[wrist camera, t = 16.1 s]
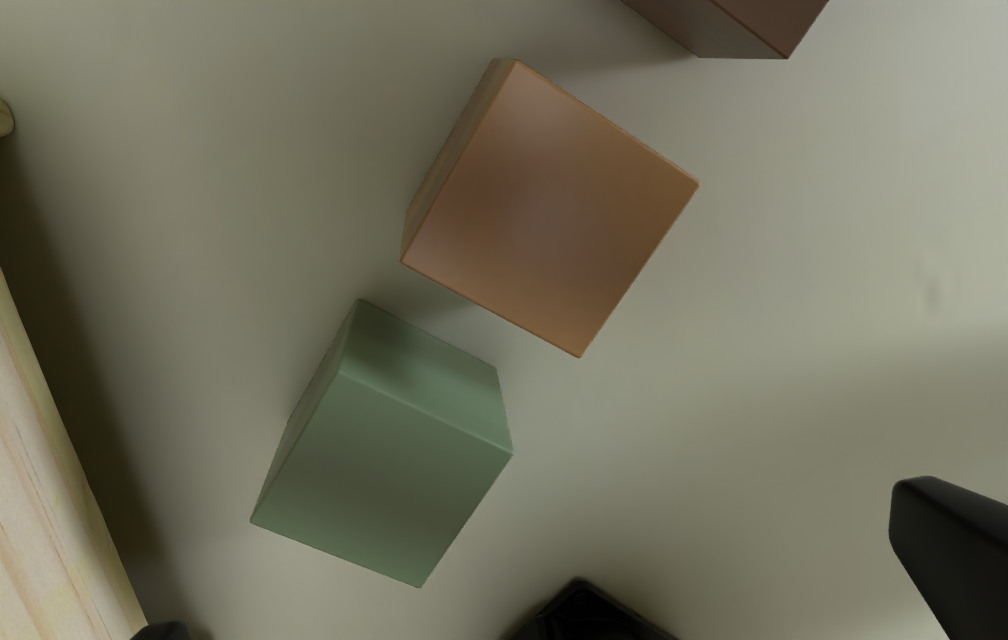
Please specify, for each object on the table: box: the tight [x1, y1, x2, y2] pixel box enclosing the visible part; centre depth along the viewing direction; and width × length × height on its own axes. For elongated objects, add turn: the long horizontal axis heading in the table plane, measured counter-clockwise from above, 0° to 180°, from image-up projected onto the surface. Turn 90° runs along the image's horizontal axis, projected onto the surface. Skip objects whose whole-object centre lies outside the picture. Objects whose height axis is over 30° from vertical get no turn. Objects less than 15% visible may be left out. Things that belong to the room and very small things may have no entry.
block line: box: [250, 0, 829, 588], centre depth 16 cm, size 30×8×5 cm, turn 148°
